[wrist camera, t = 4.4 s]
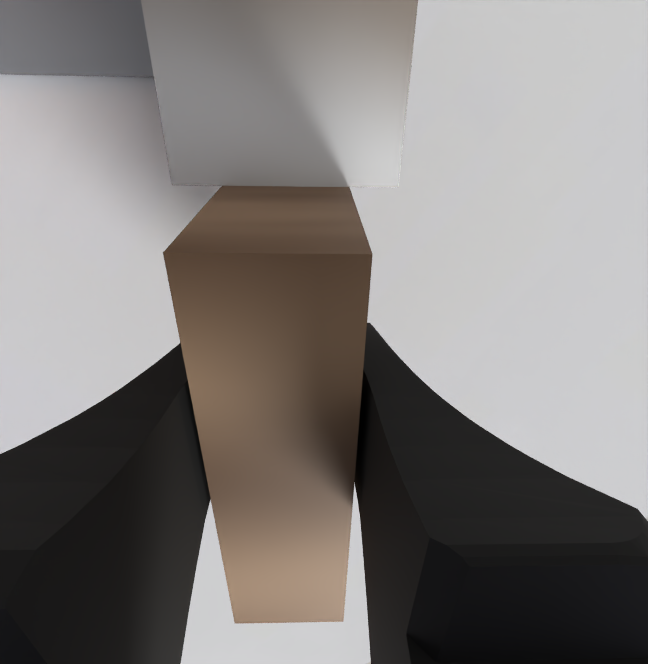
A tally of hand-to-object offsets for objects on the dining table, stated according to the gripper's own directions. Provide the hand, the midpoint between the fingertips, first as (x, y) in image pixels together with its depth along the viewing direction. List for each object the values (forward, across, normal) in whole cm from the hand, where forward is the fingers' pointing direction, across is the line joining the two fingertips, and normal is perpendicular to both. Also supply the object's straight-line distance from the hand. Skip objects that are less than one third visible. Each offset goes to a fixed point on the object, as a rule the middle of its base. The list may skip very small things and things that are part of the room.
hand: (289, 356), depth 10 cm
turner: (+2, 0, -2) cm, 3 cm away
